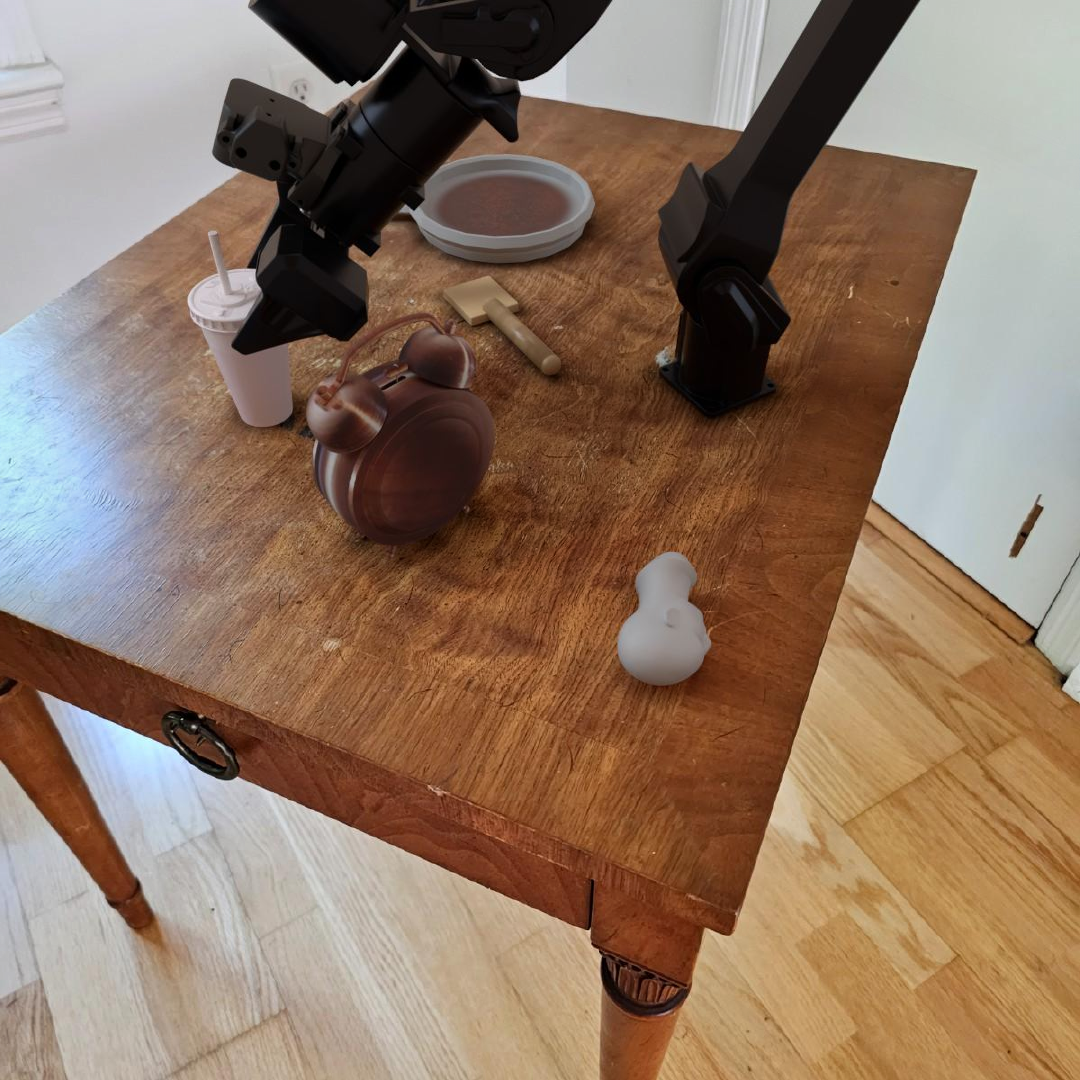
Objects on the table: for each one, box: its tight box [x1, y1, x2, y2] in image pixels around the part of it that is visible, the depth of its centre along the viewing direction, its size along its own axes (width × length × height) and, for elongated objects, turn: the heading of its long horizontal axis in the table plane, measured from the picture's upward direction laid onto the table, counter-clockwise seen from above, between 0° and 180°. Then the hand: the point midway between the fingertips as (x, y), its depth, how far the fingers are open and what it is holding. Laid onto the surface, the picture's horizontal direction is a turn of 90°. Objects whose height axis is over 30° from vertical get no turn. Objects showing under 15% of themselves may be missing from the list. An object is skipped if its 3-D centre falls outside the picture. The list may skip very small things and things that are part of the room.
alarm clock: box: [305, 312, 496, 559], centre depth 56 cm, size 11×5×15 cm, turn 133°
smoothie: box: [187, 230, 294, 428], centre depth 64 cm, size 6×6×14 cm
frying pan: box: [397, 153, 596, 264], centre depth 88 cm, size 17×3×28 cm
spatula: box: [442, 275, 562, 376], centre depth 76 cm, size 14×4×2 cm, turn 31°
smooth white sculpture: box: [616, 551, 712, 687], centre depth 53 cm, size 4×8×5 cm
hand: (245, 309), depth 63 cm, fingers open, 9 cm apart
